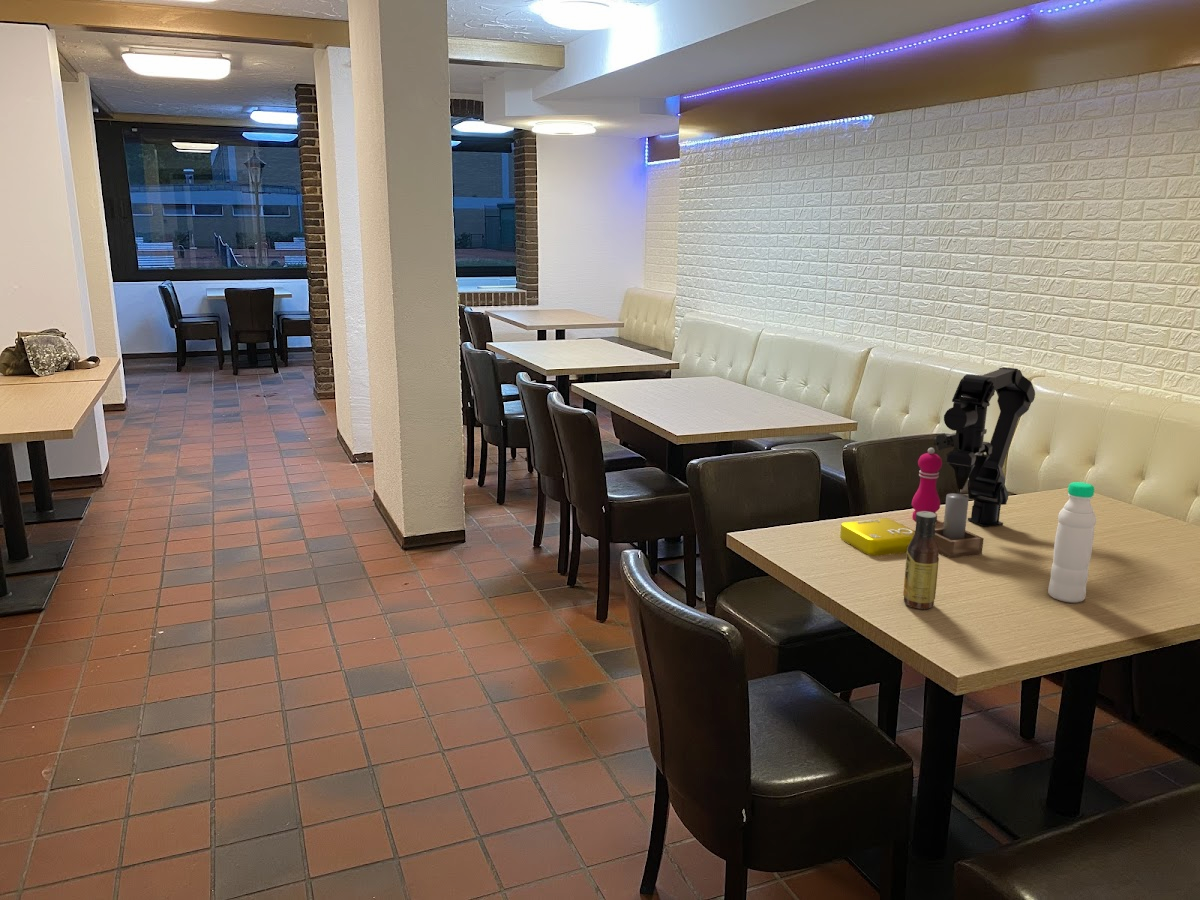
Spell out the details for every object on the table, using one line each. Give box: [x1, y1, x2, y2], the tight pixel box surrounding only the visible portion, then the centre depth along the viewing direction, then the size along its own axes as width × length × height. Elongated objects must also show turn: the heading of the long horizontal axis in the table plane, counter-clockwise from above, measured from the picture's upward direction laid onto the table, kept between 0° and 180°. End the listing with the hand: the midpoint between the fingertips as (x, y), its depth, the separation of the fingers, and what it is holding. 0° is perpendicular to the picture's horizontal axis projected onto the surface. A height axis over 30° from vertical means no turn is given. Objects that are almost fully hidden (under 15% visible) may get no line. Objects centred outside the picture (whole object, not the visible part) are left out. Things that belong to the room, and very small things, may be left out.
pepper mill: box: [911, 447, 943, 522], centre depth 240 cm, size 7×7×20 cm
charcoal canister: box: [942, 493, 970, 540], centre depth 218 cm, size 5×5×12 cm
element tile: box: [839, 518, 915, 557], centre depth 223 cm, size 15×15×5 cm
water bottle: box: [1047, 481, 1097, 604], centre depth 188 cm, size 7×7×25 cm
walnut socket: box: [934, 527, 984, 559], centre depth 219 cm, size 10×10×4 cm
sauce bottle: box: [902, 511, 940, 610], centre depth 184 cm, size 7×6×20 cm
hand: (965, 485), depth 228 cm, fingers open, 9 cm apart
